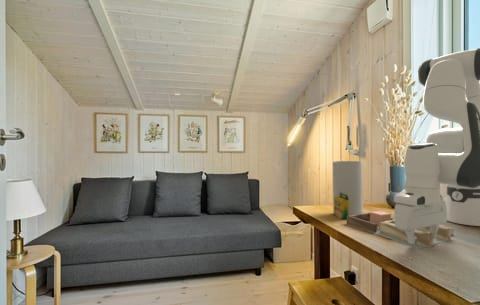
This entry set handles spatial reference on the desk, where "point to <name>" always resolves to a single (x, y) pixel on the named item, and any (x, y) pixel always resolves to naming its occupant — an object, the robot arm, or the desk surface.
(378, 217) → the cube
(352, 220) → the cubby
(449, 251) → the desk surface
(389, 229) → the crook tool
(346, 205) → the crayon box
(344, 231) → the desk surface
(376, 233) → the board
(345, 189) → the cylinder vase
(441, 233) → the plain stick
